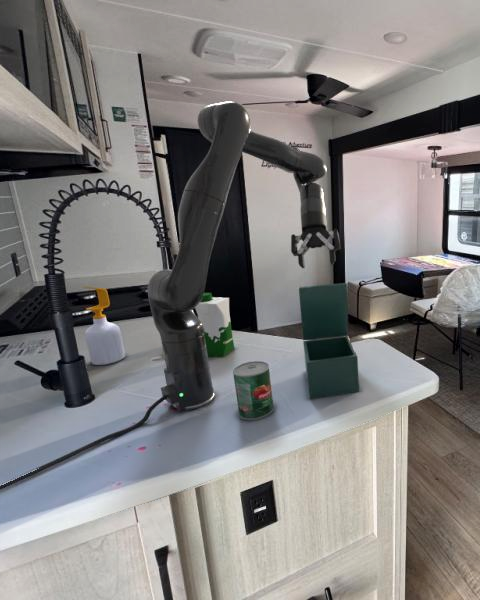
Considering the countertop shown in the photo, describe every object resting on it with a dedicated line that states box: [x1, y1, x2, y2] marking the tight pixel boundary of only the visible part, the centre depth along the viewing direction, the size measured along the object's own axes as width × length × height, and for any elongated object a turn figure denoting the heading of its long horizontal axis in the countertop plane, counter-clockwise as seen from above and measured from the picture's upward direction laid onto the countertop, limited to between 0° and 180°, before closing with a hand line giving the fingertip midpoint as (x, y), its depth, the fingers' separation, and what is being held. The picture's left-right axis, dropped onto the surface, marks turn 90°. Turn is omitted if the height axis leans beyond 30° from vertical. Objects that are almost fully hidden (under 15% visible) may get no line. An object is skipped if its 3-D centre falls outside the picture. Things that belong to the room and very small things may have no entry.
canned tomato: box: [232, 360, 275, 421], centre depth 89 cm, size 8×8×11 cm
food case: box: [302, 335, 360, 399], centre depth 103 cm, size 16×13×10 cm
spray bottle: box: [82, 286, 126, 366], centre depth 121 cm, size 9×9×25 cm
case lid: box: [298, 282, 349, 341], centre depth 105 cm, size 16×13×1 cm
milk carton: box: [194, 292, 235, 358], centre depth 125 cm, size 9×9×20 cm
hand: (317, 265), depth 111 cm, fingers open, 8 cm apart
